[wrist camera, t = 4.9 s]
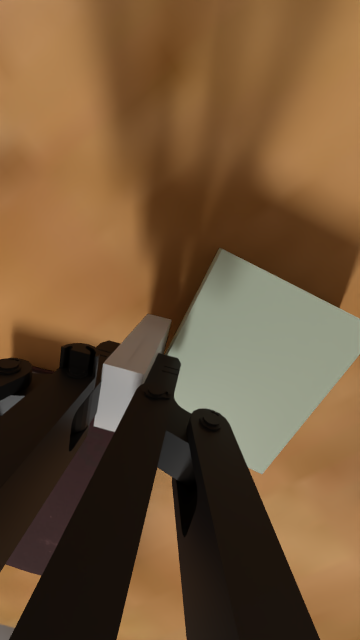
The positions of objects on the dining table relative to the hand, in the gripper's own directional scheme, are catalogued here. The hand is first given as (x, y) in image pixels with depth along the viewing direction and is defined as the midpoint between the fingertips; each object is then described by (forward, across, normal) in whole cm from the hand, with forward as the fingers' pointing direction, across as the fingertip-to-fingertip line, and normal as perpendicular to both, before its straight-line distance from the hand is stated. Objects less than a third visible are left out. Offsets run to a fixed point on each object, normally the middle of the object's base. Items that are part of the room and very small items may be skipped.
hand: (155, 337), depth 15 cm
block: (+2, +5, 0) cm, 6 cm away
